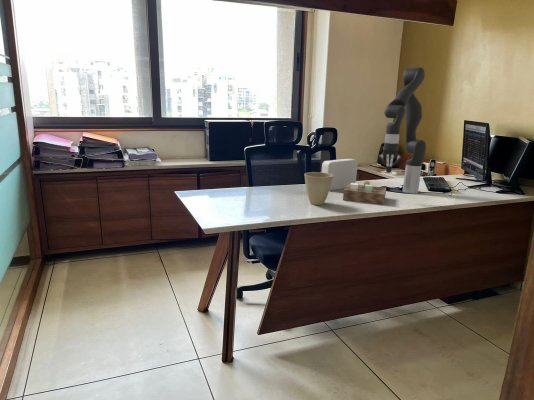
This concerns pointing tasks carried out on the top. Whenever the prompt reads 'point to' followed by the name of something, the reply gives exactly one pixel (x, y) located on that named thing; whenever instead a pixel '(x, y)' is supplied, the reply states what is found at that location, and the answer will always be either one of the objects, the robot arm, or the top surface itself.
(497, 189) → the top surface
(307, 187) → the plant pot
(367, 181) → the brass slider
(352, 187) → the off-white button
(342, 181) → the rounded white slab
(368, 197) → the switch panel
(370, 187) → the sage green button
